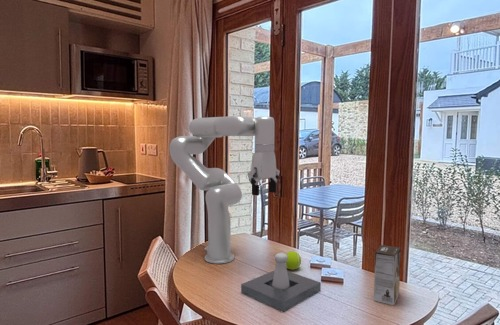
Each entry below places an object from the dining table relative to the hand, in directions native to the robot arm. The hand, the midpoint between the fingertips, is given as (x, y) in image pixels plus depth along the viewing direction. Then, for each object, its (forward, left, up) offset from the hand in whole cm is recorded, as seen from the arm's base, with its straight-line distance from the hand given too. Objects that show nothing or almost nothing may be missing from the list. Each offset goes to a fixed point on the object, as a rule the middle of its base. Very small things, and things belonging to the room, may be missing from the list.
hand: (264, 193), depth 132 cm
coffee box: (+44, +11, -31) cm, 55 cm away
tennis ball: (+7, +9, -31) cm, 33 cm away
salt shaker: (+17, -10, -31) cm, 36 cm away
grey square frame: (+17, -10, -30) cm, 36 cm away
